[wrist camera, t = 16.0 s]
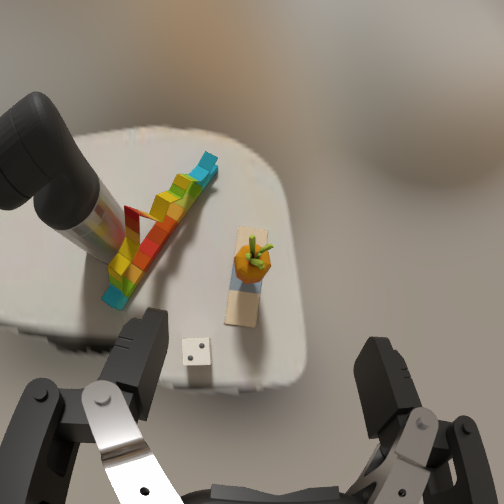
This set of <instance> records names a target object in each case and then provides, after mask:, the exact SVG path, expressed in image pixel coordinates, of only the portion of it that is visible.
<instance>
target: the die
mask: <svg viewBox="0 0 504 504" xmlns="http://www.w3.org/2000/svg"><path fill="white" fill-rule="evenodd" d="M182 348H183V364H184V365H211V363H212V359H211V343H210V338H184V339H182Z"/></svg>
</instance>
